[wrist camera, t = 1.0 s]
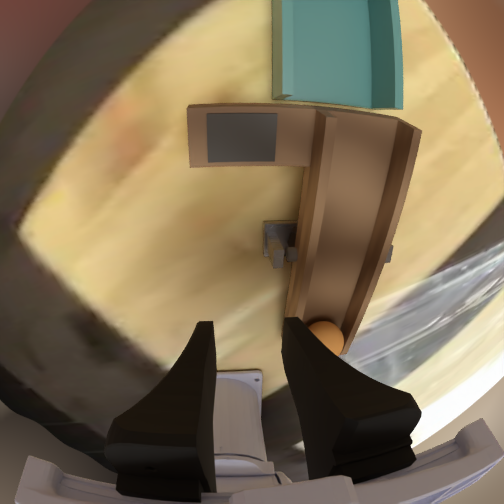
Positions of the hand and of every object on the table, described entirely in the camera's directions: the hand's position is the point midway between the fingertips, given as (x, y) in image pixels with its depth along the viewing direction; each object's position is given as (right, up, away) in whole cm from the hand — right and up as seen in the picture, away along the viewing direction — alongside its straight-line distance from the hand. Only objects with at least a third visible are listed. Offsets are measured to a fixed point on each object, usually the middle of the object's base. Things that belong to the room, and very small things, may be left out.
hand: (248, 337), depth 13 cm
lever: (+3, +4, +6) cm, 8 cm away
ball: (+5, -3, +8) cm, 10 cm away
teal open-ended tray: (+5, +18, +3) cm, 19 cm away
